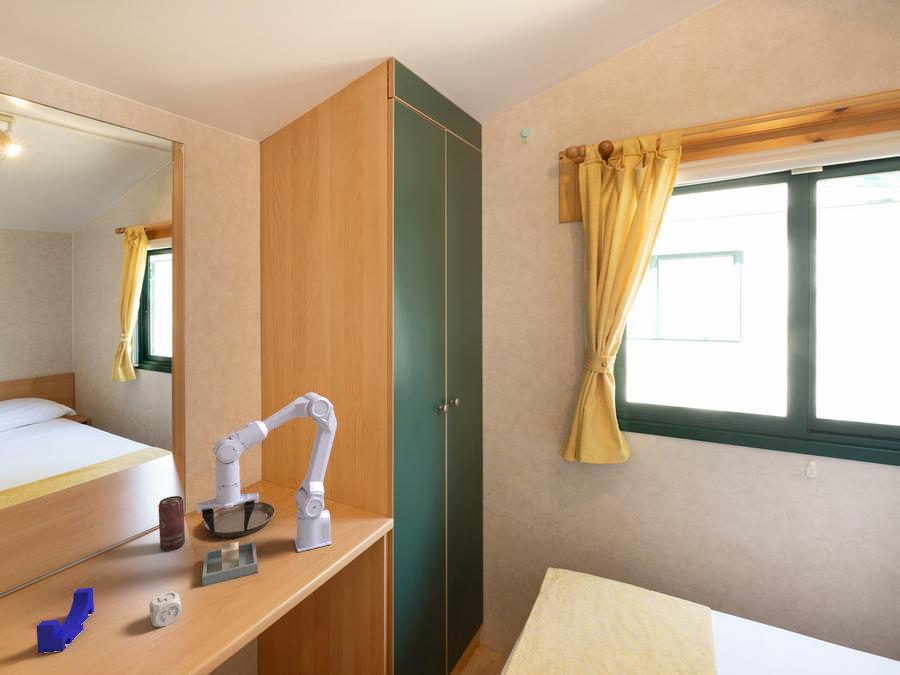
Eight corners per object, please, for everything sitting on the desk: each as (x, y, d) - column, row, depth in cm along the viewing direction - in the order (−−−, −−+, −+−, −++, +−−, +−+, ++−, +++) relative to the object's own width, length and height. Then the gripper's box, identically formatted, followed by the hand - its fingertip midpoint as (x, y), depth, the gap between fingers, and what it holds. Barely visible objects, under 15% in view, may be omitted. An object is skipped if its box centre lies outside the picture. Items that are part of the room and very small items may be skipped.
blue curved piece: (63, 652, 89) (61, 623, 88) (38, 655, 88) (36, 626, 88) (101, 612, 101) (100, 586, 100) (79, 614, 100) (78, 588, 100)
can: (174, 553, 125) (172, 505, 124) (155, 550, 126) (153, 503, 125) (190, 542, 131) (188, 496, 130) (172, 539, 132) (170, 494, 131)
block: (238, 559, 121) (238, 541, 120) (239, 566, 117) (238, 548, 117) (222, 563, 119) (221, 545, 119) (222, 570, 115) (221, 552, 115)
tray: (255, 549, 127) (254, 541, 126) (257, 572, 115) (257, 563, 115) (205, 560, 121) (204, 552, 121) (202, 586, 110) (202, 576, 110)
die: (149, 619, 98) (148, 598, 98) (175, 608, 102) (174, 588, 101) (155, 631, 94) (154, 608, 94) (181, 619, 98) (181, 597, 98)
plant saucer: (284, 526, 141) (284, 516, 140) (212, 549, 127) (212, 538, 127) (264, 505, 156) (263, 495, 156) (198, 523, 143) (197, 513, 143)
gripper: (195, 493, 110) (197, 546, 111) (258, 483, 116) (260, 533, 117) (197, 483, 116) (199, 533, 117) (257, 474, 123) (258, 521, 124)
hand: (229, 532), depth 118 cm, fingers open, 7 cm apart
